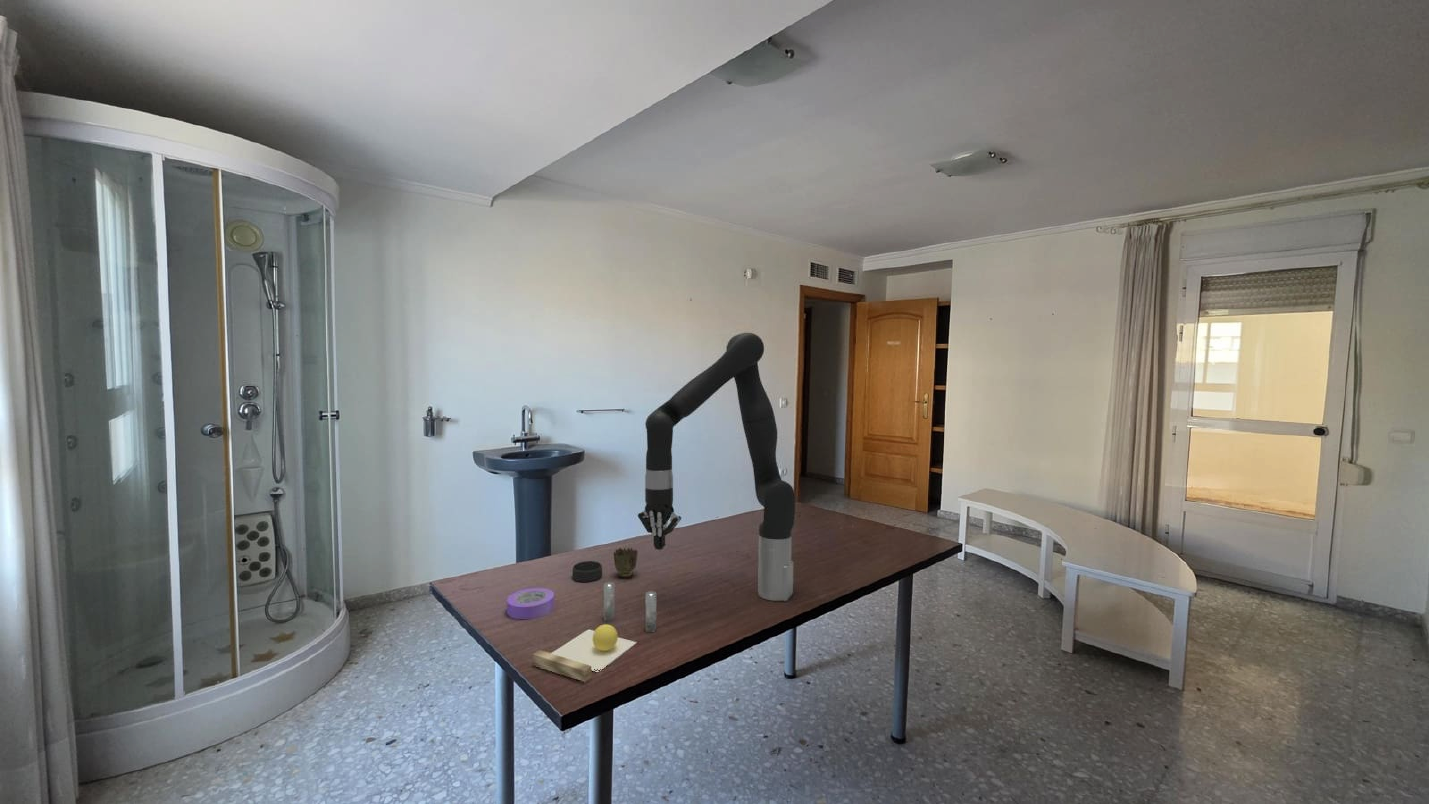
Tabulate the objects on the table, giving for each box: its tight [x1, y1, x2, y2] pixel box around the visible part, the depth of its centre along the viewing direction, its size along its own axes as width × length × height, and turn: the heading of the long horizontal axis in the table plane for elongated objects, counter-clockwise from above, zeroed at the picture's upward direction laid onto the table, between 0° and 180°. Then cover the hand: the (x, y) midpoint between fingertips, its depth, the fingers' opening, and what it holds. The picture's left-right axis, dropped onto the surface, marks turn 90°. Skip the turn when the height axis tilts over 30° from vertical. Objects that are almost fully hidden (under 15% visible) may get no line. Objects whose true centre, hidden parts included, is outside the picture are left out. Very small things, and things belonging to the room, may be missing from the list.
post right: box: [644, 590, 657, 633], centre depth 126 cm, size 3×3×9 cm
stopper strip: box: [532, 649, 592, 682], centre depth 107 cm, size 14×2×2 cm, turn 64°
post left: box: [603, 581, 615, 622], centre depth 131 cm, size 3×3×9 cm
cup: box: [612, 547, 638, 579], centre depth 160 cm, size 8×7×8 cm
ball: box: [593, 623, 619, 651], centre depth 116 cm, size 6×6×6 cm
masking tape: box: [506, 587, 555, 620], centre depth 136 cm, size 12×12×4 cm
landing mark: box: [550, 629, 637, 673], centre depth 116 cm, size 14×14×1 cm
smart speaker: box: [572, 560, 603, 583], centre depth 160 cm, size 9×9×4 cm
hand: (659, 548), depth 140 cm, fingers closed
